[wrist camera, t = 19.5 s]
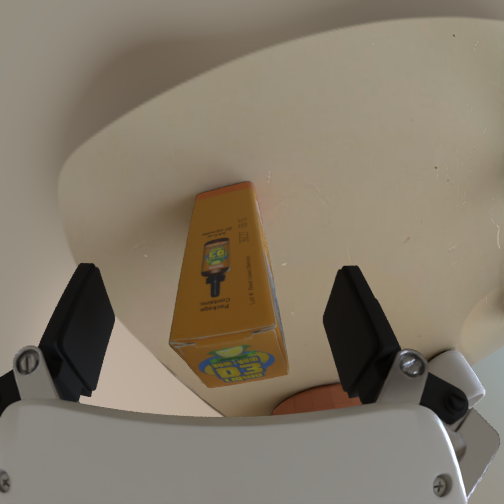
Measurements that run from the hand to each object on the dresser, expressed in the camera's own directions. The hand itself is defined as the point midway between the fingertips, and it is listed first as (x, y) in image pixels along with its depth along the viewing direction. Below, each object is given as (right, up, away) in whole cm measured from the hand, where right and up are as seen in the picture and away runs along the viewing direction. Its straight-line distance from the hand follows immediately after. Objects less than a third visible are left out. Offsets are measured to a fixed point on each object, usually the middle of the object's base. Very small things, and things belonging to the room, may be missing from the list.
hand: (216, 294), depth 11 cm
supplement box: (0, +4, +6) cm, 7 cm away
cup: (+27, -14, +20) cm, 36 cm away
